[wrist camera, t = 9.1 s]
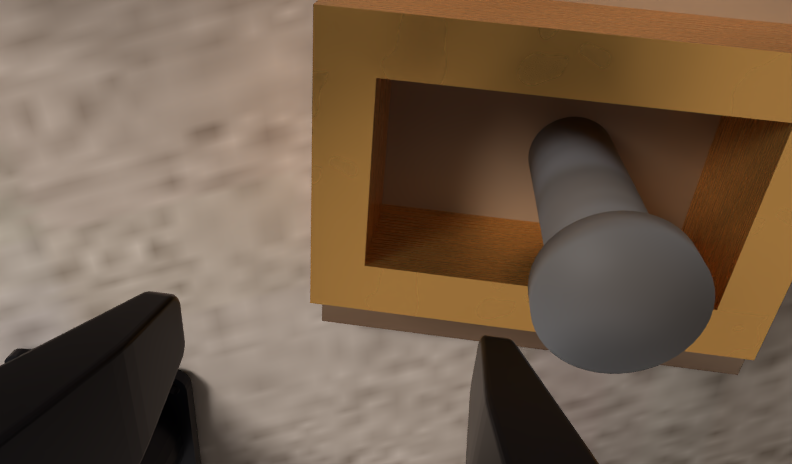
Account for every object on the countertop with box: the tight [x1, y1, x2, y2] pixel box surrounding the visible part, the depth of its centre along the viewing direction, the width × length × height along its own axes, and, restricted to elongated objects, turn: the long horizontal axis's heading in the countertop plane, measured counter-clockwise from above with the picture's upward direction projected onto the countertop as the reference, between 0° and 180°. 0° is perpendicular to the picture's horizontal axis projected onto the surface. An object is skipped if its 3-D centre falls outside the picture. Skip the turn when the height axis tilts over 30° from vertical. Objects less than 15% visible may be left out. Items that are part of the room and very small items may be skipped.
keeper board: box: [322, 0, 792, 375], centre depth 13 cm, size 12×12×7 cm
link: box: [310, 0, 792, 360], centre depth 14 cm, size 7×10×3 cm, turn 86°
